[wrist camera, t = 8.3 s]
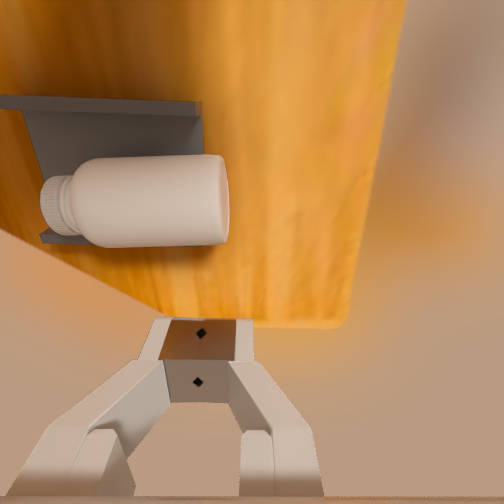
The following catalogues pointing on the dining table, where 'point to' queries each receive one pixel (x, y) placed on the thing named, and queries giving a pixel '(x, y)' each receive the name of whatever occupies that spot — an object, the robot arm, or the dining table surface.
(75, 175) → the pill bottle
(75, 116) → the u rest
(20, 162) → the dining table surface
